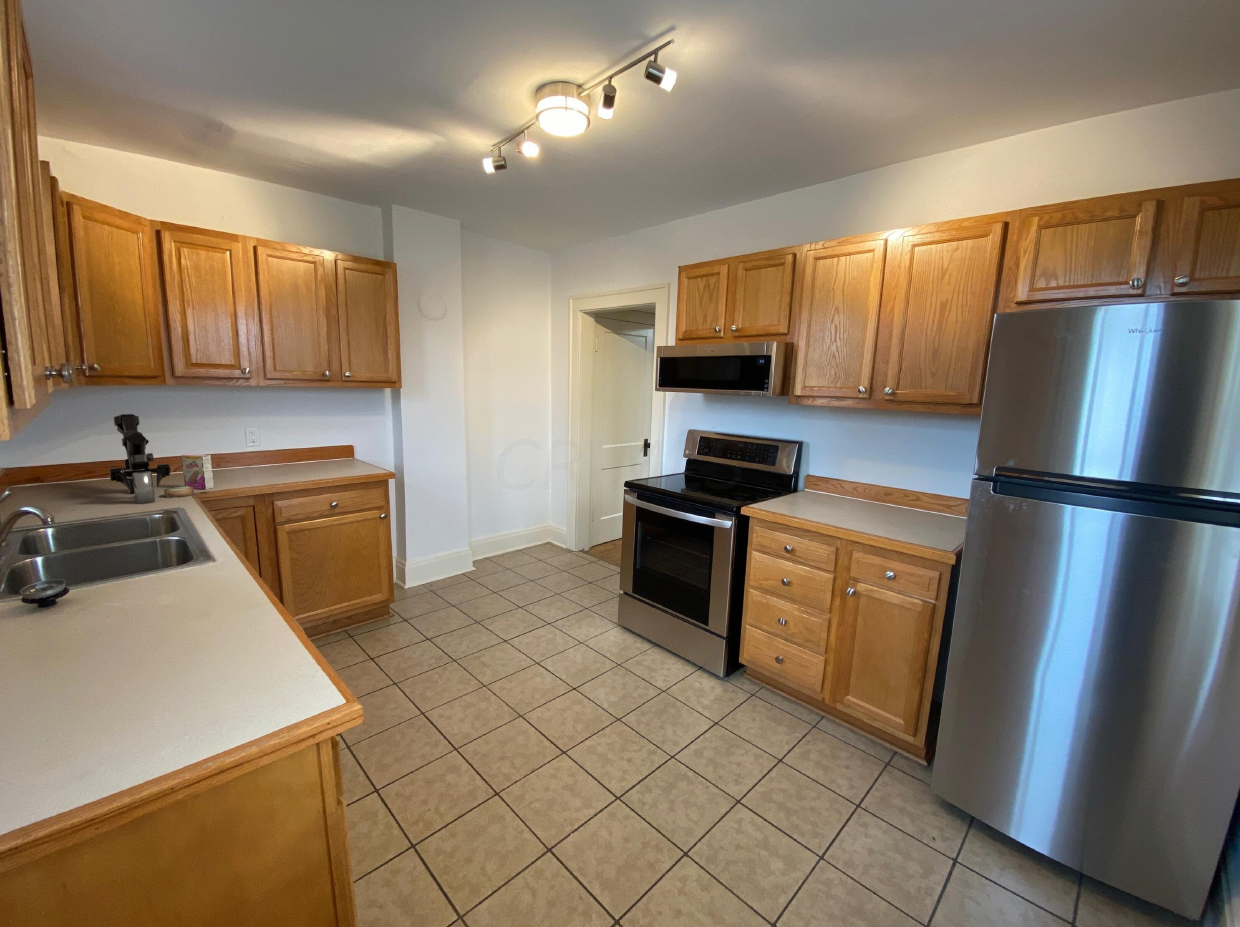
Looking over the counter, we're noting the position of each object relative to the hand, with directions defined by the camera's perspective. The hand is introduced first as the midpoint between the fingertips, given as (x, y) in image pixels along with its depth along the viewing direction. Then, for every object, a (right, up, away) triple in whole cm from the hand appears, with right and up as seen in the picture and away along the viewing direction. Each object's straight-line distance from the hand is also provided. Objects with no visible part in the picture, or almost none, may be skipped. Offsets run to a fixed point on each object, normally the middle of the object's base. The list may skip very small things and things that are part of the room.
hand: (144, 487), depth 213 cm
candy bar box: (-2, -2, +31) cm, 31 cm away
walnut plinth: (+1, -4, +16) cm, 16 cm away
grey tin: (-1, -6, +2) cm, 7 cm away
